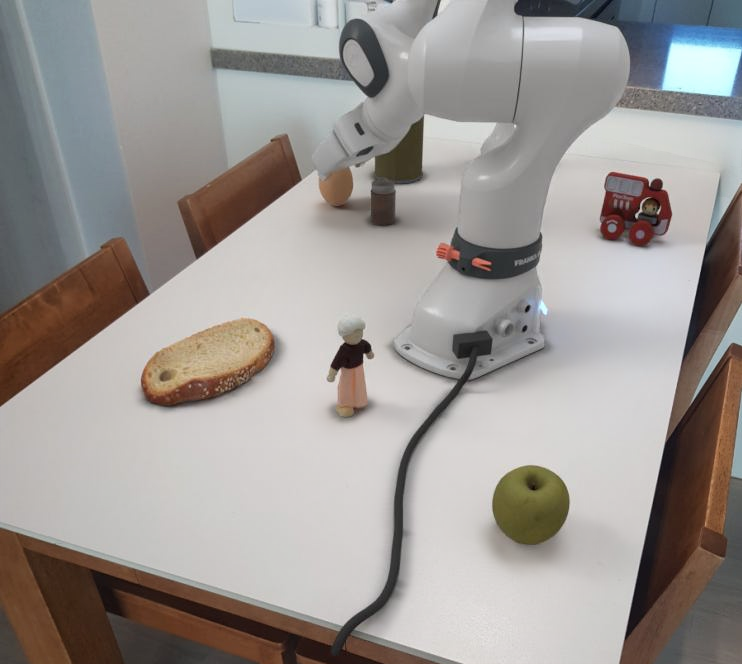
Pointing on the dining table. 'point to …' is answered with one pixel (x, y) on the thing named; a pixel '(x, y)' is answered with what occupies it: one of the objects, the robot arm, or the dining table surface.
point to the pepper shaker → (383, 202)
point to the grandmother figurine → (350, 366)
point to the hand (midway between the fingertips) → (339, 170)
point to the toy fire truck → (634, 208)
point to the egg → (337, 187)
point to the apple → (530, 504)
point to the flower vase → (497, 136)
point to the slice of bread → (208, 362)
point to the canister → (403, 158)
